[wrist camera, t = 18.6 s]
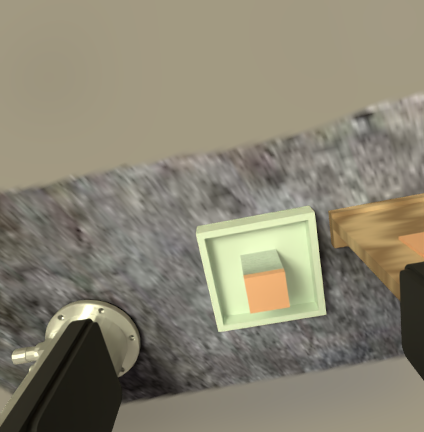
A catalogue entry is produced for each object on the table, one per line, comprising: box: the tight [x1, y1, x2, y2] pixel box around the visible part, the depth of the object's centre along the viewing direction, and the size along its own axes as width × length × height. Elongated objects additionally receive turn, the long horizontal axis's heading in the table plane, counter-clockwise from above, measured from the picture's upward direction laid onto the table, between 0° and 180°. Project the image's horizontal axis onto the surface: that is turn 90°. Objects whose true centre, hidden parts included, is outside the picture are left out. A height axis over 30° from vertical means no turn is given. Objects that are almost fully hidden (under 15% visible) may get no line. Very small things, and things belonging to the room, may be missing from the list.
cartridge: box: [240, 249, 290, 314], centre depth 40 cm, size 4×4×6 cm
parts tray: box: [196, 206, 326, 332], centre depth 42 cm, size 14×14×2 cm
